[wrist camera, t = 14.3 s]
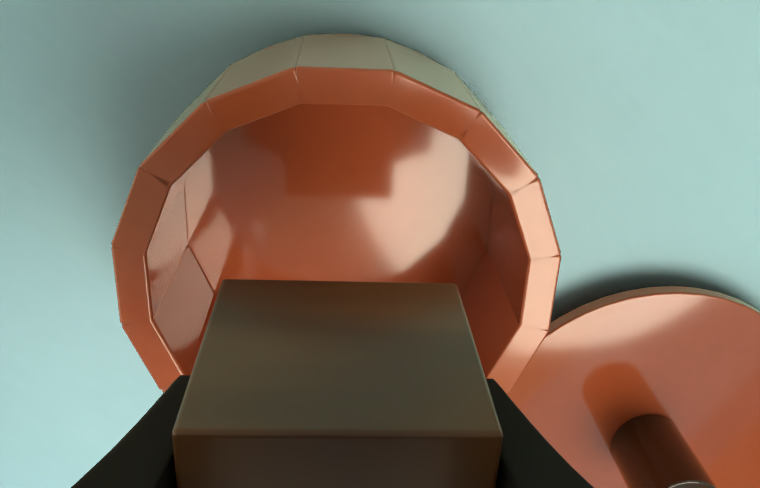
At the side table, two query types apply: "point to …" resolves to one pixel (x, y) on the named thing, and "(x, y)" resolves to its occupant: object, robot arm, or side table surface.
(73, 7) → the side table surface
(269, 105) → the cup
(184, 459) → the block
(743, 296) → the side table surface
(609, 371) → the lid
